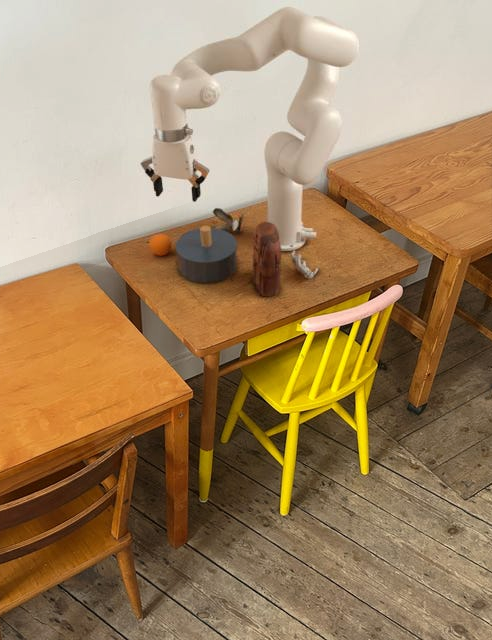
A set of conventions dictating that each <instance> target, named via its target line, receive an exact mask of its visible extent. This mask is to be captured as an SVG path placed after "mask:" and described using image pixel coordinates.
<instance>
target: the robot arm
mask: <svg viewBox="0 0 492 640" xmlns="http://www.w3.org/2000/svg"><path fill="white" fill-rule="evenodd" d="M287 51H291V52H293V53H295V55H298V56H300V57H302V58H304V59H307V67H306V70H305V74H304V76H303V79H302V81H301V83H300V85H299V87H298V90H297V91H296V93H295V95H294V97H293V99H292V101H291V104H290V106H289V107H288V110H287V114H286V121H287V123H288V124H289V125H290V127H291V128H293V130H295V131H296V132H298V133H299V134H301V135H302V136H304V138H303V140H302V139H301V138H299V137H298V136H296V135H294V133H291V132H288V131H284V130H283V131H282V130H281V131H276V132H275V133H272V134H271V135H270V136H269V137H268V139H267V141H266V143H265V146H264V162H265V163H264V164H265V169H266V177H267V216H266V217H267V219H266V220H267V221H266V222H270V223H272V224H274V225H275V226H276V228H277V230H278V232H279V241H280V245H281V252H291V251H294V250H295V251H296V250H298V249H300V248H302V247H303V246H304V245H305V244H306V240H307V239H310V240H316V239H317V232H316V231H314V227H305V226H304V221H302V211H303V210H302V209H303V191H304V186H305V185H309V184H312V183H313V182H314V181H315V180H316V179H317V178H318V177H319V176H320V174H321V173H322V171H323V169H324V167H325V165H326V163H327V162H328V160H329V158H330V156H331V154H332V152H333V150H334V148H335V146H336V144H337V142H338V140H339V138H340V136H341V133H342V129H343V120H342V116H341V114H340V112H339V110H337V109H336V108H335V107H334V106H331V105H330V103H331V100H332V98H333V97H334V93H335V91H336V89H337V87H338V84H339V79H340V68H344V67H347V66H349V65H351V64H352V63H353V62H354V61H355V60H356V59H357V57H358V55H359V53H360V41H359V38H358V36H357V34H356V33H355V32H354V31H353V30H352V29H351V30H350V29H349V28H347V27H345V26H343V25H341V24H339V23H337V22H336V21H334V20H331V19H329V18H326V17H323V16H320V15H314V16H312V15H310V14H307V13H305V12H304V11H301V10H299V9H298V8H295V7H292V6H285V7H282V8H280V9H278V10H276V11H275V12H273V13H272V14H270V15H268V16H267V17H265V18H264V19H262V20H260V21H259V22H258V23H256V24H255V25H253V26H251V27H250V28H248V29H247V30H245V31H244V32H242V33H240V34H239V35H236V36H235V37H230V38H226V39H222V40H218V41H215V42H210V43H207V44H205V45H202V46H201V47H199V48H197V49H194V50H193V51H192V52H190V53H189V54H187V55H186V56H183V58H181V59H180V60H179V61H178V62H176V64H175V65H174V66H173V68H172V70H171V72H170V74H162V75H158V76H155V77H154V78H152V79H151V81H150V84H149V91H150V101H151V109H152V117H153V126H154V134H153V137H152V147H151V156H149V157H147V158H145V159H143V160H141V161H140V166H141V168H142V169H143V170H144V173H145V175H147V176H148V177H149V178H150V181H151V182H152V185H153V191H154V193H155V196H156V197H157V198H158V197H160V196H161V195H162V193H163V192H164V186H163V178H170V179H178V180H185V181H186V180H187V181H188V182H189V183H190V184H191V185H192V186H191V187H190V188H191V189H190V190H191V200H192V202H195V203H196V202H197V200H198V199H199V198H200V197H201V192H202V191H201V184H202V183H203V182H205V180H206V179H207V177H208V175H209V173H210V169H209V167H206V166H205V165H203V164H202V163H200V162H199V161H198V157H197V153H196V147H195V144H194V140H193V137H192V136H193V133H194V129H193V128H190V127H189V125H188V122H187V121H188V120H187V110H199V109H206V108H211V107H212V106H214V105H215V104H216V103H217V102H218V101H219V99H220V97H221V93H222V92H221V91H222V90H221V85H220V83H219V81H218V80H217V79H216V78H215V77H214V75H216V74H220V73H224V72H256V71H258V70H260V69H262V68H263V67H264V66H266V65H267V64H269V63H270V62H272V61H273V60H275V59H276V58H278V57H279V56H281V55H283V54H284V53H285V52H287ZM150 165H152V167H151V166H150ZM197 172H200V173H201V174H200V176H199V174H198V173H197ZM162 177H163V178H162Z"/></svg>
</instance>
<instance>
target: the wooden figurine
mask: <svg viewBox="0 0 492 640" xmlns="http://www.w3.org/2000/svg"><path fill="white" fill-rule="evenodd" d="M253 243H254V246H253V251H252V283H253V284H254V285H255V288H256V290H257V291H259V293H260V295H261V296H262V297H270V296H275V295H277V294H278V293H279V291H280V284H281V273H282V267H281V266H282V251H281V245H280V241H279V232H278V230H277V228H276V226H275V225H274V224H272V223H270V222H267V221H262V222H260V223H258V224H257V225H256V227H255V231H254V237H253Z"/></svg>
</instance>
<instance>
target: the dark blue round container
mask: <svg viewBox="0 0 492 640" xmlns="http://www.w3.org/2000/svg"><path fill="white" fill-rule="evenodd" d="M176 253H177V252H176ZM176 256H177V265H178V269H179V273H180V274H181V275H182V276H183V277H184V278H185V279H187V280H189V281H191V282H194V283H200V284H212V283H218V282H221V281H223V280H226V279H227V278H230V277H231V276H232V275H233V274H234V273H235V271H236V269H237V263H238V262H237V259H238V258H237V250H236V251H235V253H234V254H233V255H232V256H230V257H229V258H227V259H225V260H223V261H220V262H216V263H210V264H200V263H194V262H190V261H187V260H185V259H183V258H182V257H181V256H180V255H179V254H178V253H177V255H176Z"/></svg>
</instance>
